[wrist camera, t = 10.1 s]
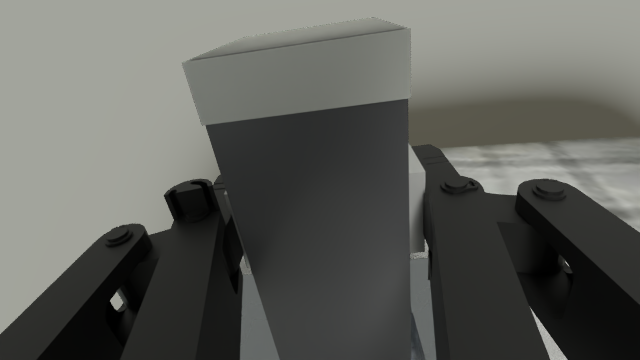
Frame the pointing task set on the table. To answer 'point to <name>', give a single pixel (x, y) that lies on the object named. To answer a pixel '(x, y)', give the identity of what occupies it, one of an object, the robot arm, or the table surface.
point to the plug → (318, 180)
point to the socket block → (259, 343)
